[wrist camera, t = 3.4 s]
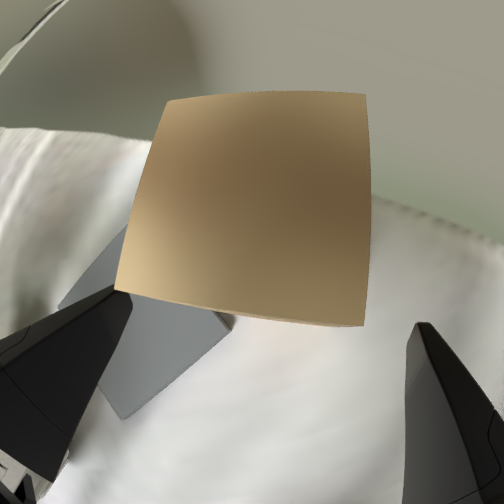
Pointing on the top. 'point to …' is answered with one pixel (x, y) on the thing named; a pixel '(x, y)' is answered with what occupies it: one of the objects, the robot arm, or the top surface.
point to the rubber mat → (147, 337)
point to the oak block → (256, 208)
